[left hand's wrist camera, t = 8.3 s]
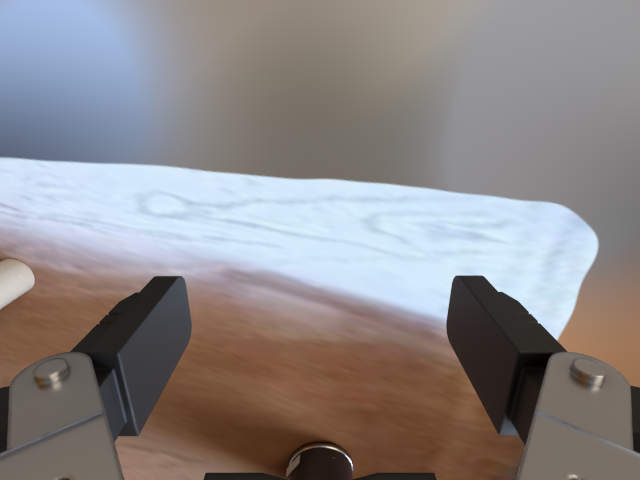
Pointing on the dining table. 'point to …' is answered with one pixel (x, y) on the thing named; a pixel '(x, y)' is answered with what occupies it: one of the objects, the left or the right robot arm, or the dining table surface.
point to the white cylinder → (14, 280)
